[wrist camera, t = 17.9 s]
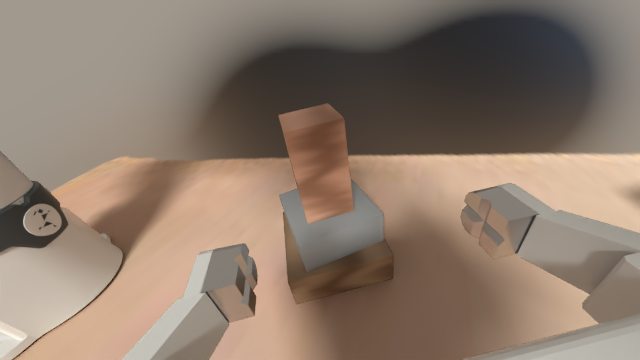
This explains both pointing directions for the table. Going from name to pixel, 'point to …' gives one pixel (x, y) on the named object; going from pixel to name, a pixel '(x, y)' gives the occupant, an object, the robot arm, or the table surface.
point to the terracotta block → (319, 160)
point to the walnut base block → (336, 270)
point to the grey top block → (333, 229)
